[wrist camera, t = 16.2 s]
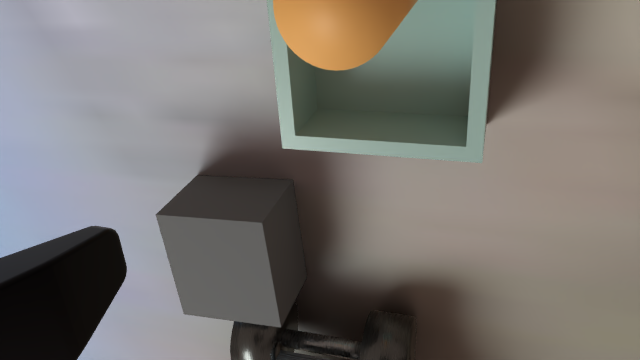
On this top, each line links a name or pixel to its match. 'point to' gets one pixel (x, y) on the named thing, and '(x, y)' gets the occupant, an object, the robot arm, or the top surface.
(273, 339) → the grey toy car
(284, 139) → the tray
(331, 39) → the pin
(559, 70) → the top surface
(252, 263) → the block
